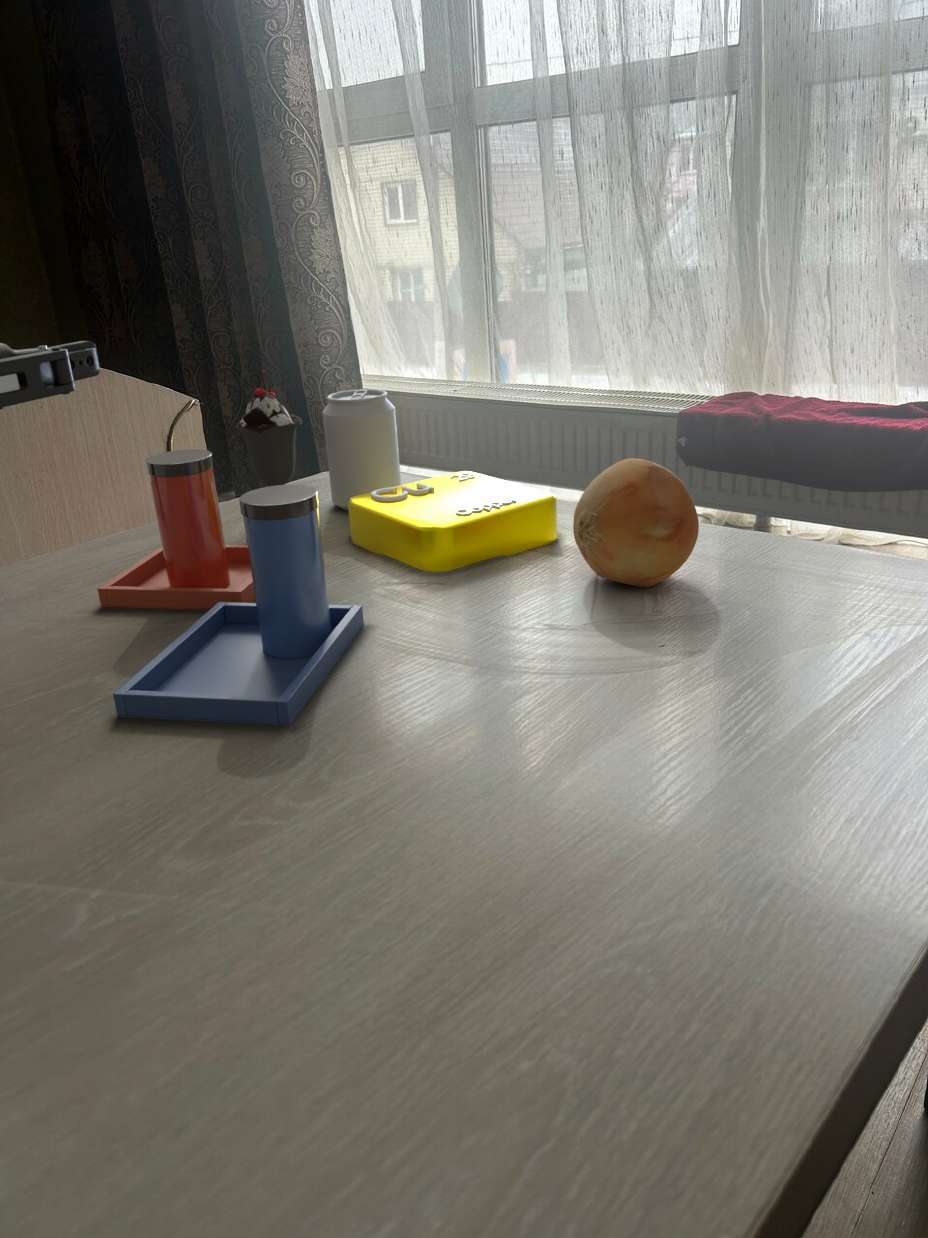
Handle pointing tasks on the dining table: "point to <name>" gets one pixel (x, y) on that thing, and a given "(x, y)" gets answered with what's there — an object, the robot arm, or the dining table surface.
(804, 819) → the dining table surface
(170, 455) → the red jar
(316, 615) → the blue jar
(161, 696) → the blue tray
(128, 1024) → the dining table surface
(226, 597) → the red tray
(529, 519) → the element tile
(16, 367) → the robot arm
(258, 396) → the sundae
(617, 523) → the onion
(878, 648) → the dining table surface
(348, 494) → the can
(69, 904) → the dining table surface
